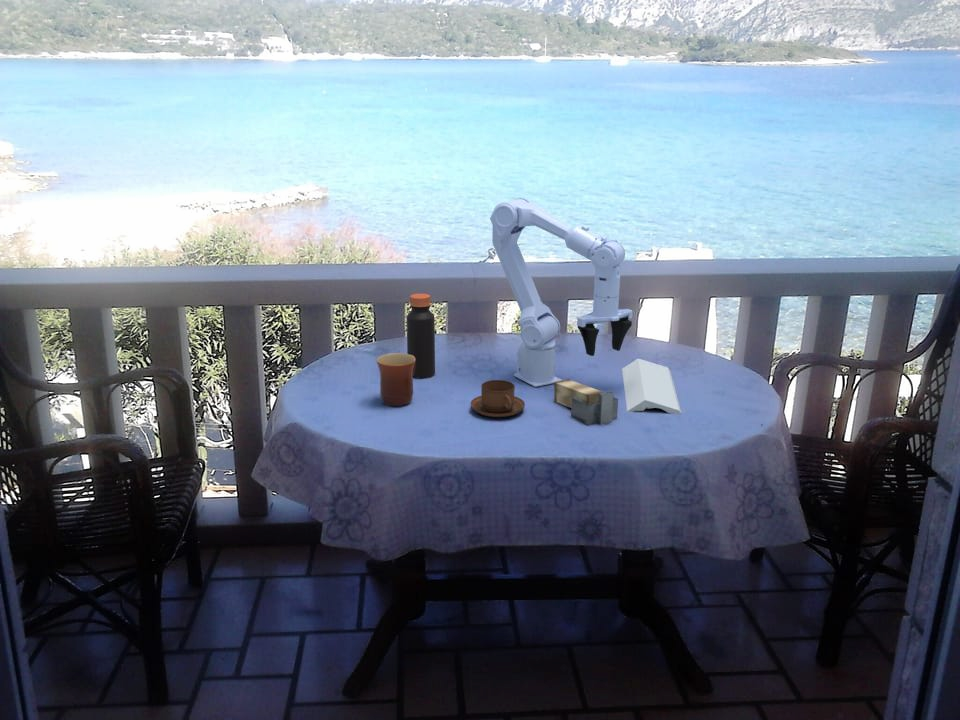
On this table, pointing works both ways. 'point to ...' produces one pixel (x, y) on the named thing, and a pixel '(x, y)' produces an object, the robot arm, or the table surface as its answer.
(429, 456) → the table surface
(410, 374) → the mug
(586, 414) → the bracket
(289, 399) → the table surface
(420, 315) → the bottle
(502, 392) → the cup and saucer
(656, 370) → the crown molding
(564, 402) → the tan rectangular block
